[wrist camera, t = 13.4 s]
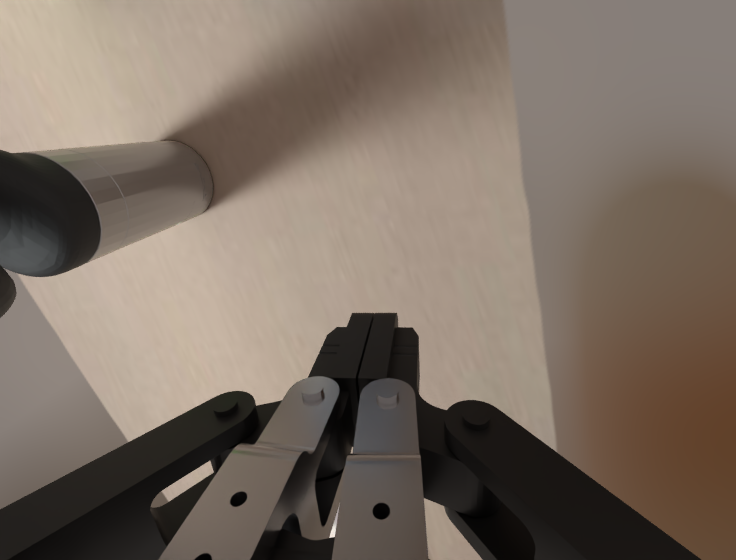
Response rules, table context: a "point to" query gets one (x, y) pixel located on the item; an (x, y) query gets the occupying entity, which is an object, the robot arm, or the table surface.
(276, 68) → the table surface
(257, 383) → the table surface
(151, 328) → the table surface
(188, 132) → the table surface
